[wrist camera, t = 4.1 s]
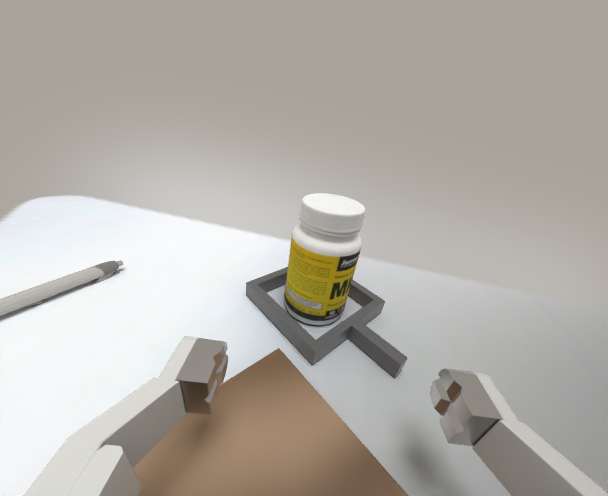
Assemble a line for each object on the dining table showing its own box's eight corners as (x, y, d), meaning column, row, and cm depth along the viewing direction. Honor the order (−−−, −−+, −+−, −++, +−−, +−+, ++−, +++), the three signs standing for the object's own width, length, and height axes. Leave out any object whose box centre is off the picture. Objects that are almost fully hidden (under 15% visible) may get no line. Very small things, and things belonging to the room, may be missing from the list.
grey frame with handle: (424, 343, 17) (431, 331, 17) (360, 417, 12) (366, 404, 12) (314, 266, 24) (316, 256, 23) (246, 294, 19) (246, 282, 19)
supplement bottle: (330, 338, 17) (360, 225, 12) (271, 310, 18) (280, 202, 14) (350, 298, 20) (378, 202, 16) (301, 278, 22) (314, 186, 18)
